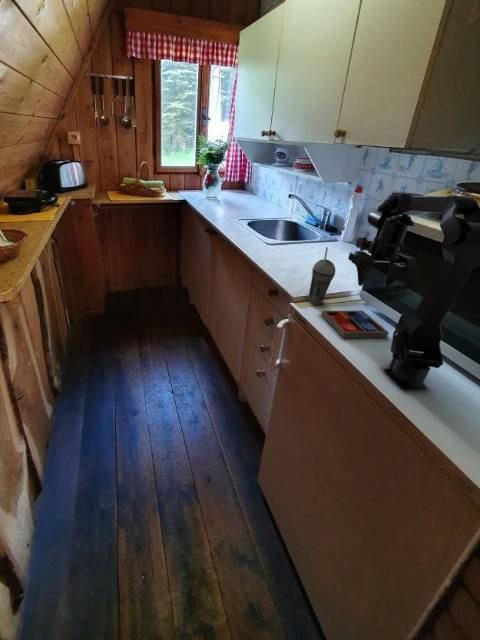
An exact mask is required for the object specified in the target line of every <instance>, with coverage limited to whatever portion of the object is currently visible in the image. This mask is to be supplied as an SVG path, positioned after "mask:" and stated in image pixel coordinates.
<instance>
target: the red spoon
mask: <svg viewBox="0 0 480 640" xmlns="http://www.w3.org/2000/svg"><path fill="white" fill-rule="evenodd" d="M336 311H337V313H336V316H335V319H336V320H337V321H338V322H339V323H340V324H341V325H342V326H341V327H342V328H343V329H344V330H345V331H346V332H352V331H355V330H356V328H355V326H353V325H352V324H349V323H348V321H349V318H348V317H347V316H346V315H345V314H344V313H343V312H342V311H343V310H336Z"/></svg>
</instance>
